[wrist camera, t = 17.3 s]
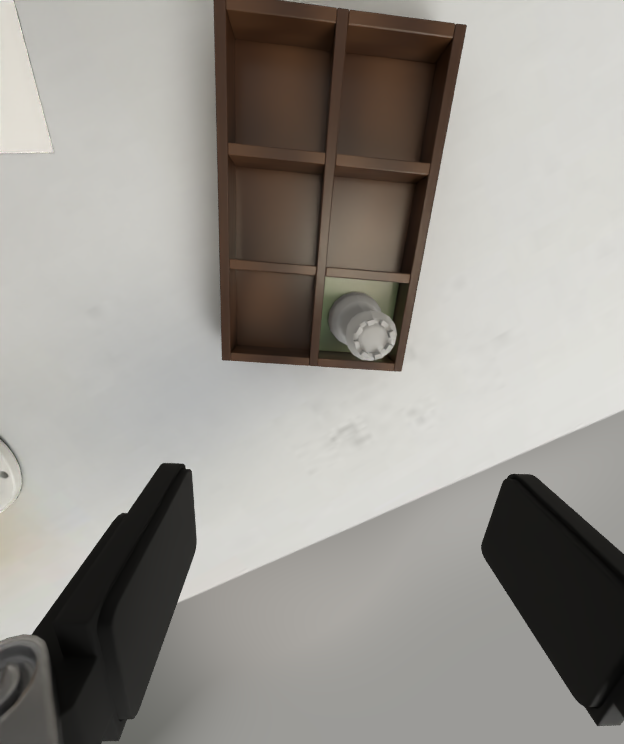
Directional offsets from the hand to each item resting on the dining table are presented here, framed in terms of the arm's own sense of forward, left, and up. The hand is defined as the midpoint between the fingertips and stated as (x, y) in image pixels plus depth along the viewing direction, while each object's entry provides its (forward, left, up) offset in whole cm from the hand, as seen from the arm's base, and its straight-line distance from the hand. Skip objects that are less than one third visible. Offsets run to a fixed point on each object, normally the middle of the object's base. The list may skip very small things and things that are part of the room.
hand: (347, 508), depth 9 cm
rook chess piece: (+3, +3, -19) cm, 19 cm away
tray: (0, +10, -20) cm, 22 cm away
